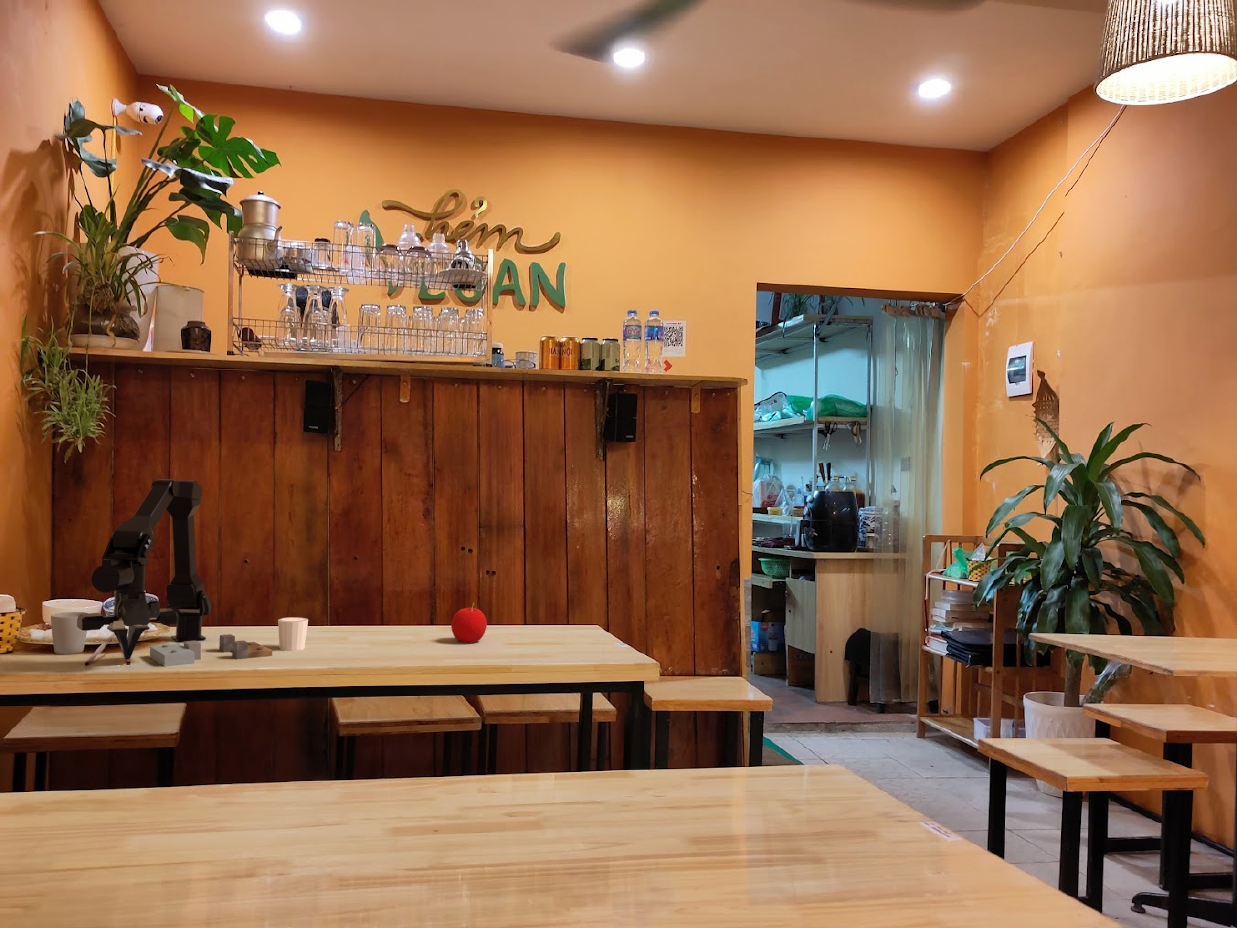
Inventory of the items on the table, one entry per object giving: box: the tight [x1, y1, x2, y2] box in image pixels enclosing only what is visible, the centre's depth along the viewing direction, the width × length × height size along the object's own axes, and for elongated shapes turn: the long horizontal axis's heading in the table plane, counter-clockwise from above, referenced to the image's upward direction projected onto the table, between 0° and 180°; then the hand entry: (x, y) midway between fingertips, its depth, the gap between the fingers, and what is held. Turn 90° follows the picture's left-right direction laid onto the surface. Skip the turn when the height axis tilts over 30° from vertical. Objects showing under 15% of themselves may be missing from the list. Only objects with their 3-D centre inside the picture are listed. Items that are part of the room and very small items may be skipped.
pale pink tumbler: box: [277, 616, 309, 652], centre depth 226 cm, size 7×7×7 cm
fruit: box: [451, 602, 488, 644], centre depth 243 cm, size 9×9×10 cm
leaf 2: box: [218, 633, 273, 660], centre depth 219 cm, size 8×12×4 cm, turn 40°
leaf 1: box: [149, 640, 202, 668], centre depth 209 cm, size 8×12×4 cm
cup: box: [50, 611, 88, 655], centre depth 214 cm, size 8×10×8 cm
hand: (127, 659), depth 203 cm, fingers closed
